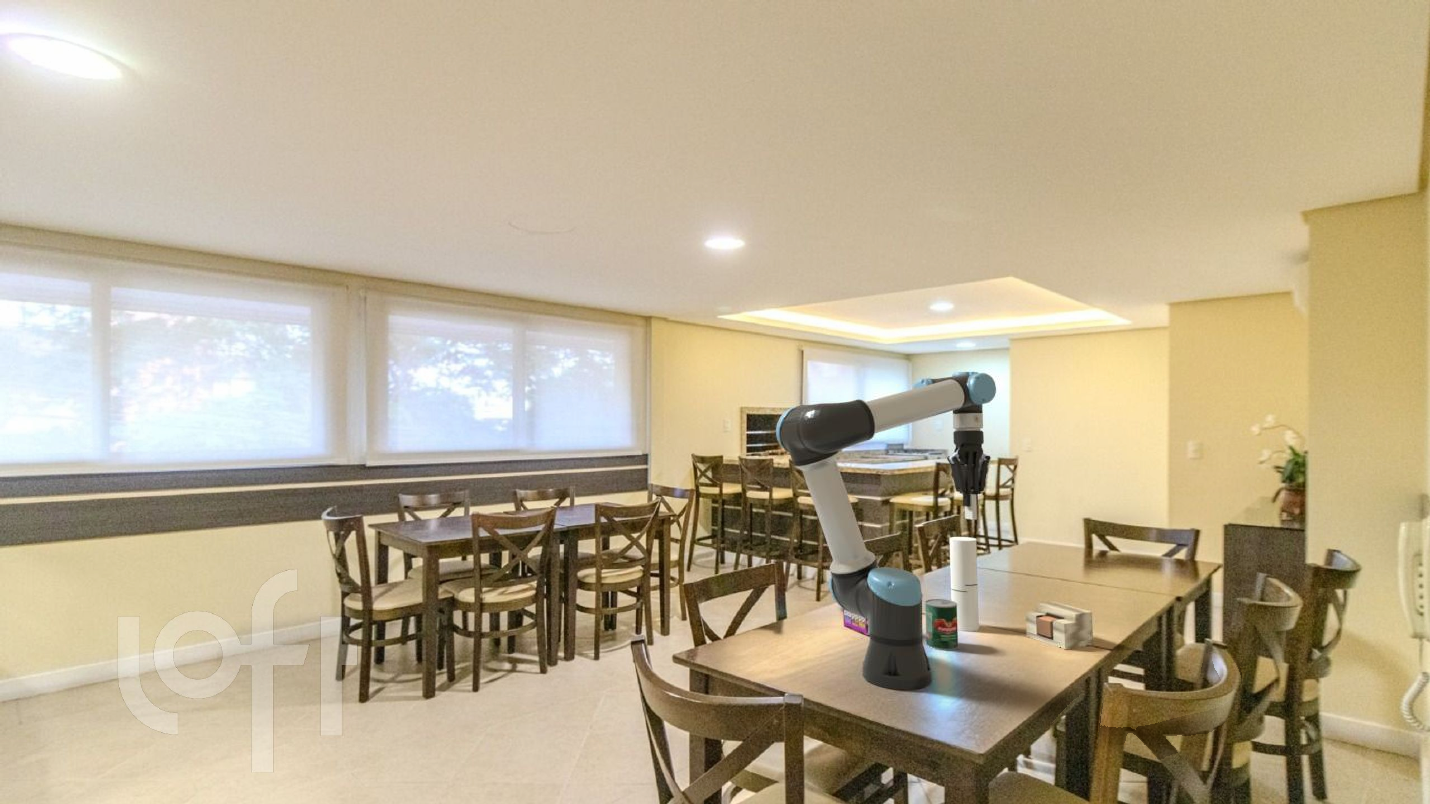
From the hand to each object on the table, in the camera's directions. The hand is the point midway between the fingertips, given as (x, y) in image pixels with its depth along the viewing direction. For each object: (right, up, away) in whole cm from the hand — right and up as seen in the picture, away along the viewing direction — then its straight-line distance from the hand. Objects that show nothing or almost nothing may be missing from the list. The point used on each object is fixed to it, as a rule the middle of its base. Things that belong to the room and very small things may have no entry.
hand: (970, 518), depth 172 cm
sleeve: (+23, -32, 0) cm, 40 cm away
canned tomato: (-9, -33, -3) cm, 34 cm away
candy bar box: (-26, -34, +11) cm, 44 cm away
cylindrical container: (+3, -33, +12) cm, 36 cm away
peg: (+23, -30, 0) cm, 38 cm away
